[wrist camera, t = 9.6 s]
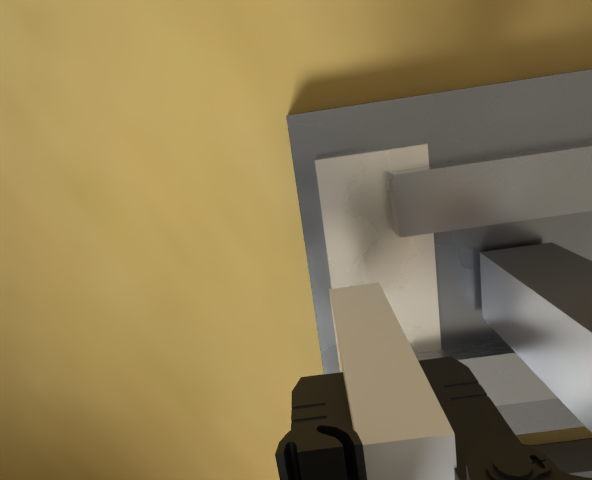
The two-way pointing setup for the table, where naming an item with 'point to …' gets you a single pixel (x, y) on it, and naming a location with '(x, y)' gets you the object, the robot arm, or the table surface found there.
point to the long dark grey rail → (570, 456)
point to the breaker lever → (544, 316)
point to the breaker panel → (447, 214)
